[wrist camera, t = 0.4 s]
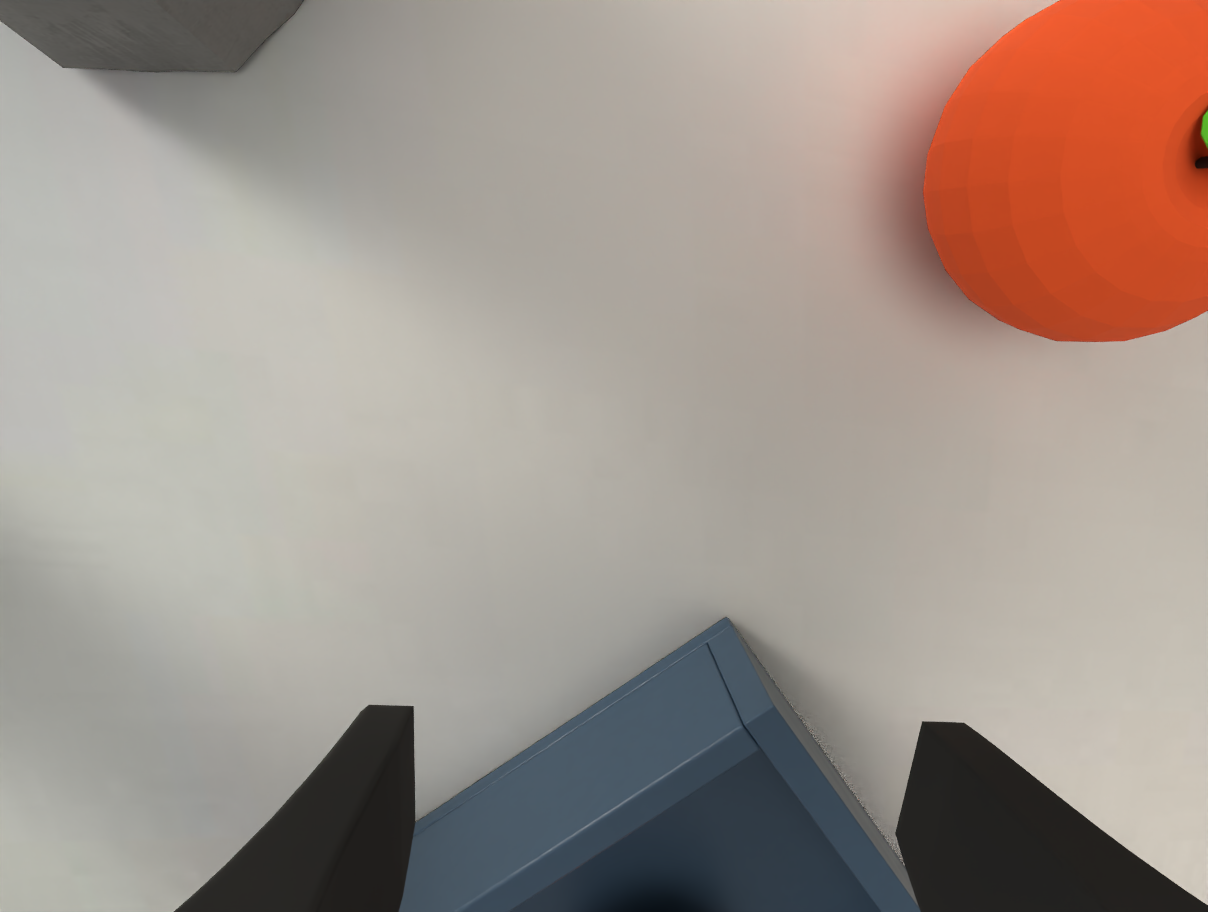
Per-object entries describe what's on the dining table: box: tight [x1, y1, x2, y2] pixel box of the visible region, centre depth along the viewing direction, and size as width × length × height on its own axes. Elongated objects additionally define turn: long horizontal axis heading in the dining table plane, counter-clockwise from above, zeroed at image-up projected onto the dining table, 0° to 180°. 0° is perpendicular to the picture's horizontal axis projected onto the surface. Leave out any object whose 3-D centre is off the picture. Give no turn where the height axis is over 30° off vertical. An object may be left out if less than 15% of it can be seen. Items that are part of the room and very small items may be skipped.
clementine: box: [923, 0, 1208, 342], centre depth 17 cm, size 8×7×7 cm
